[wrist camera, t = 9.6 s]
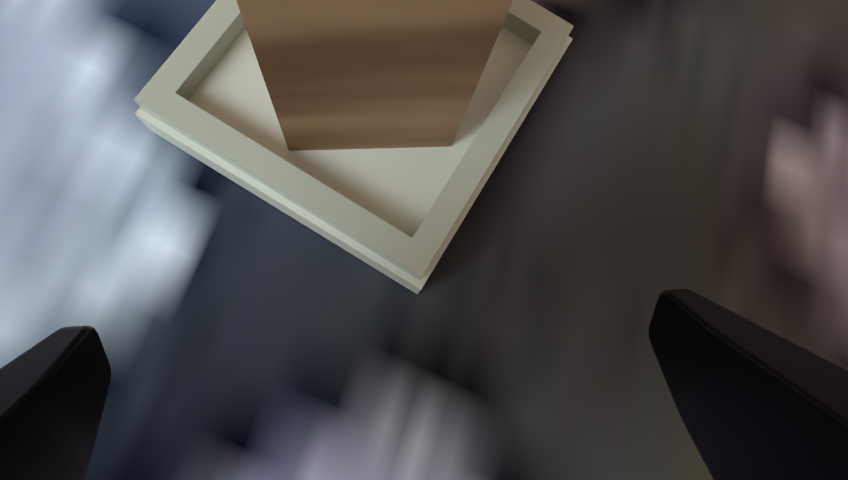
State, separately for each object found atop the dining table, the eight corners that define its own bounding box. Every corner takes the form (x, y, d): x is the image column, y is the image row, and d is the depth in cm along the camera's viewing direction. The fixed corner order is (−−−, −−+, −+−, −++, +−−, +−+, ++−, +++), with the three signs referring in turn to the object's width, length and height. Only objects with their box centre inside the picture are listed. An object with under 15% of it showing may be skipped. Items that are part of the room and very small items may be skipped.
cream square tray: (560, 57, 20) (581, 24, 18) (417, 294, 17) (424, 286, 15) (323, -85, 20) (319, -133, 18) (149, 130, 18) (123, 101, 16)
